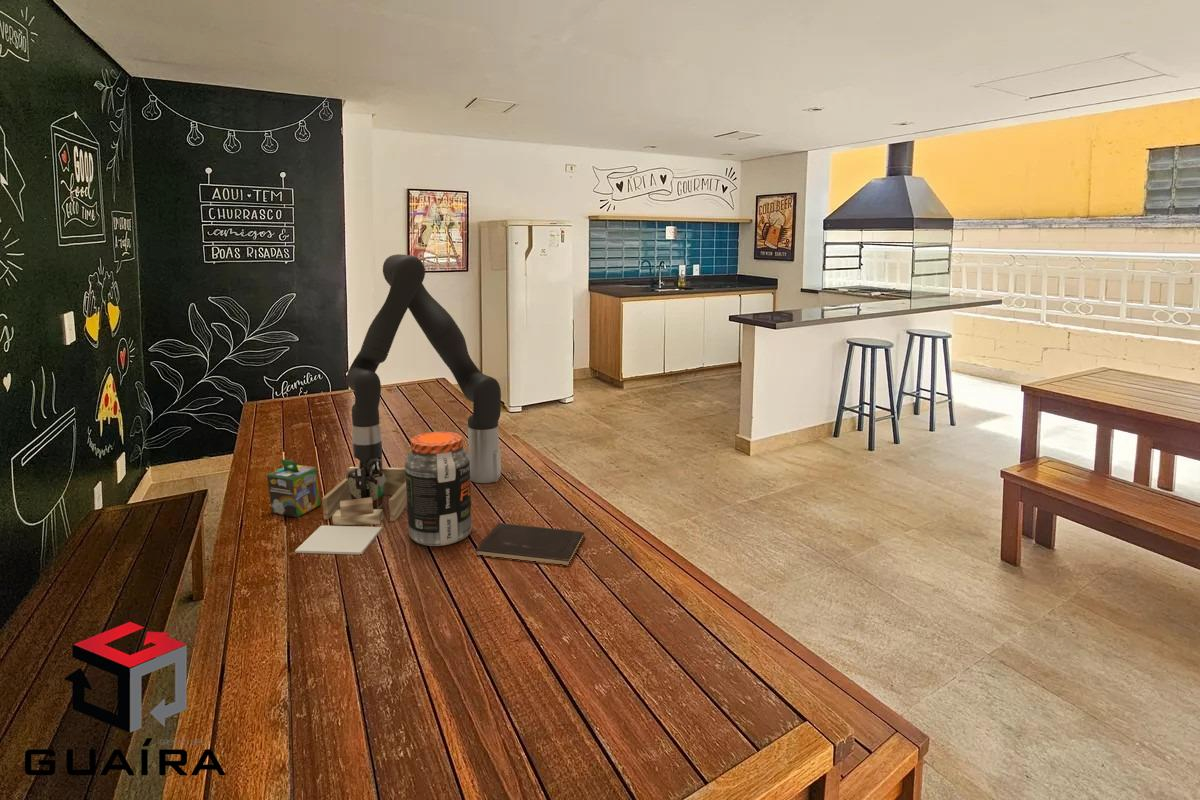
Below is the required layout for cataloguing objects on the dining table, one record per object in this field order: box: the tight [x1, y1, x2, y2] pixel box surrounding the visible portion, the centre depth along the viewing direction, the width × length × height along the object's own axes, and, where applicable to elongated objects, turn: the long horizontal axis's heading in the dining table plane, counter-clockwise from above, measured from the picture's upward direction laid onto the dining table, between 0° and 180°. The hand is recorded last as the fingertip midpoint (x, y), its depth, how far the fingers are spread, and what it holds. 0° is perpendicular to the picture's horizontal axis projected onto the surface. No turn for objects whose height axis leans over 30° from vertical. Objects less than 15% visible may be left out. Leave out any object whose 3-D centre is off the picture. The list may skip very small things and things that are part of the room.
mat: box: [294, 524, 383, 556], centre depth 164 cm, size 16×14×1 cm
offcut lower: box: [331, 508, 384, 526], centre depth 175 cm, size 12×4×3 cm, turn 94°
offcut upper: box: [339, 497, 373, 518], centre depth 174 cm, size 8×4×3 cm, turn 112°
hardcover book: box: [475, 522, 585, 566], centre depth 162 cm, size 16×23×2 cm
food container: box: [345, 470, 386, 509], centre depth 184 cm, size 12×6×10 cm, turn 65°
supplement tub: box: [404, 431, 473, 547], centre depth 165 cm, size 16×16×26 cm
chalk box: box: [266, 458, 322, 518], centre depth 180 cm, size 9×9×15 cm
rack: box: [321, 466, 407, 522], centre depth 184 cm, size 19×19×8 cm
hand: (370, 496), depth 184 cm, fingers closed on food container, 6 cm apart
